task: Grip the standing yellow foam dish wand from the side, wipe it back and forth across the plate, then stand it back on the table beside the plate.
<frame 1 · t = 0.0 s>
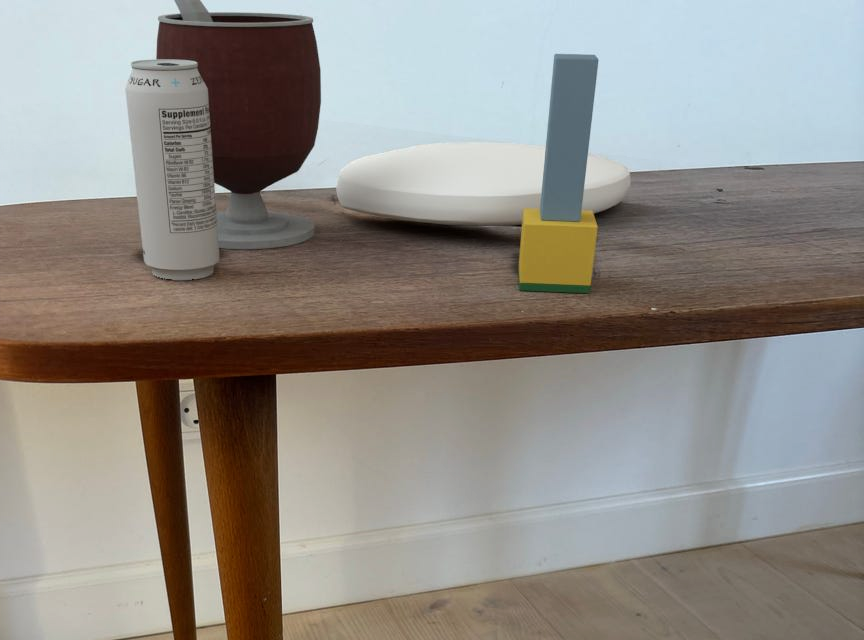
energy drink can: (183, 274, 86), on the table
mate gourd: (241, 233, 97), on the table
dish wand: (552, 282, 85), on the table
plate: (478, 217, 104), on the table
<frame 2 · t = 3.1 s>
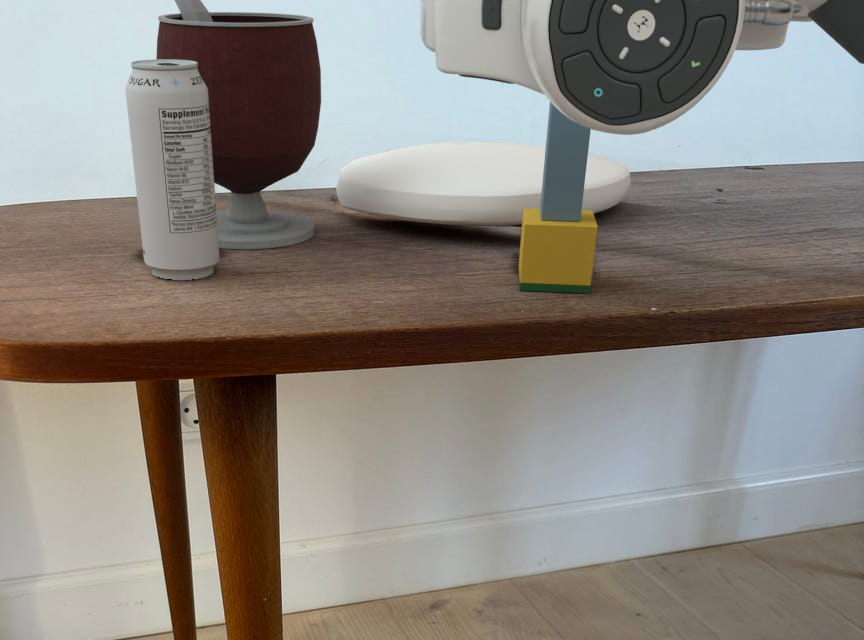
nothing on the table moved.
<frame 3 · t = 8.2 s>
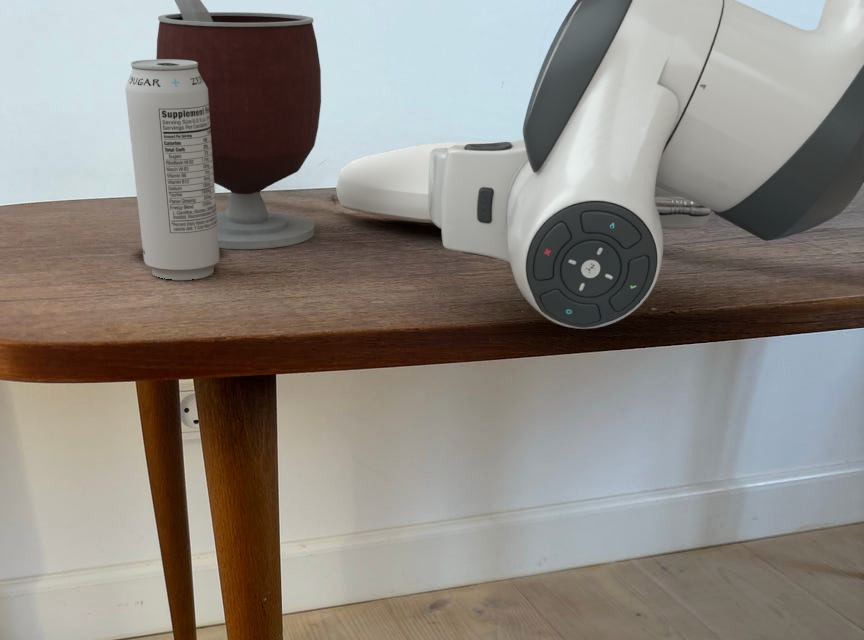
hand: (564, 166, 81), 9 cm above the table, tool horizontal, fingers closed on dish wand, 3 cm apart
dish wand: (552, 282, 85), on the table, touching gripper
everything else where it was.
when the fingers open (8 cm above the table, at t = 24.6 s): dish wand stays where it is, on the table.
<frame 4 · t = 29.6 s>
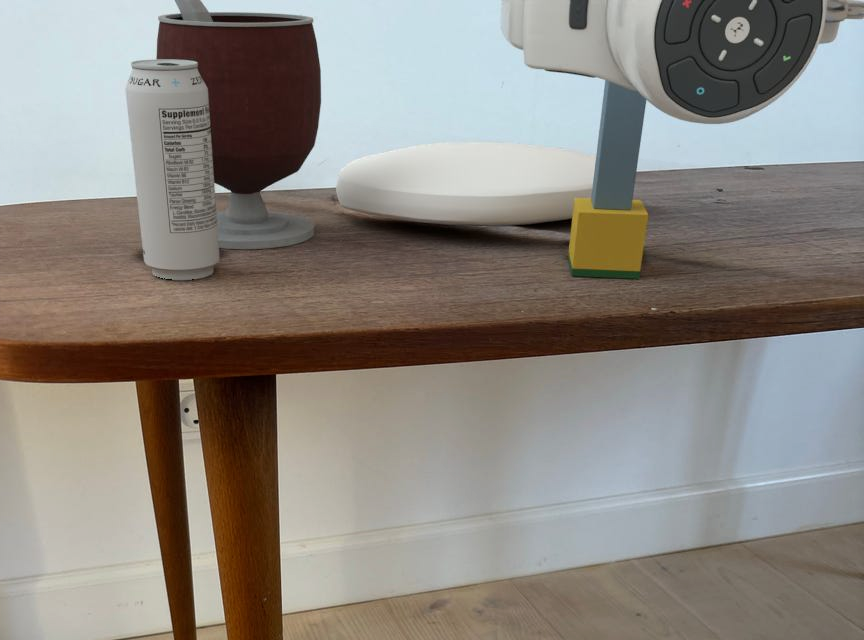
dish wand: (602, 268, 88), on the table
everything else where it was.
at the end: dish wand inside the target area (3.1 cm from its centre), on the table; dish wand tilted 0°; plate moved 0.2 cm from its start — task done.
